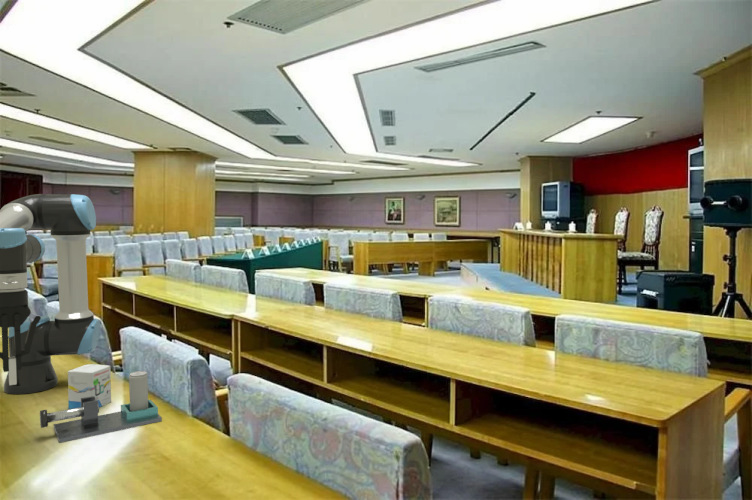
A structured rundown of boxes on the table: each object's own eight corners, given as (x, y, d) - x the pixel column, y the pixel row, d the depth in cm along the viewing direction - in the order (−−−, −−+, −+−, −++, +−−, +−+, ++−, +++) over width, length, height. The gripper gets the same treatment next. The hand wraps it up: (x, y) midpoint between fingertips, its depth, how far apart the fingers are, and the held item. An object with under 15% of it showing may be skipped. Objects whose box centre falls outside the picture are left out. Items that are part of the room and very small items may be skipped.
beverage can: (152, 412, 155) (151, 371, 155) (139, 418, 151) (138, 376, 150) (138, 410, 157) (137, 370, 156) (126, 416, 152) (125, 374, 152)
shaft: (40, 424, 141) (39, 408, 141) (96, 414, 149) (96, 398, 149) (41, 430, 138) (41, 413, 138) (99, 418, 146) (99, 402, 146)
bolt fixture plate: (53, 427, 147) (52, 399, 146) (150, 408, 161) (150, 382, 161) (59, 442, 137) (58, 412, 137) (161, 421, 152) (161, 393, 151)
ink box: (92, 411, 159) (91, 372, 159) (67, 409, 161) (66, 370, 160) (112, 401, 168) (111, 364, 167) (88, 399, 169) (87, 363, 169)
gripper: (-23, 293, 127) (-20, 392, 129) (41, 289, 135) (44, 382, 136) (-23, 290, 133) (-20, 384, 135) (39, 286, 141) (41, 375, 142)
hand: (12, 383), depth 135 cm, fingers closed
